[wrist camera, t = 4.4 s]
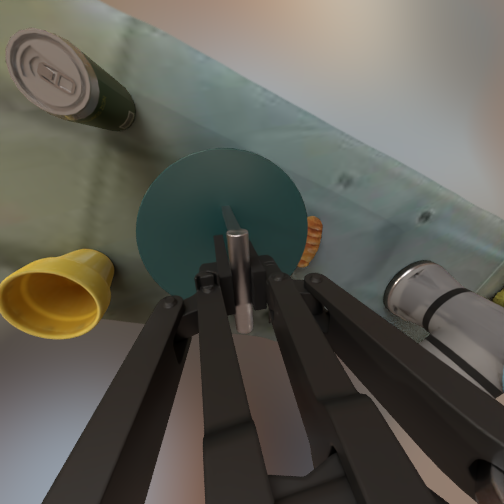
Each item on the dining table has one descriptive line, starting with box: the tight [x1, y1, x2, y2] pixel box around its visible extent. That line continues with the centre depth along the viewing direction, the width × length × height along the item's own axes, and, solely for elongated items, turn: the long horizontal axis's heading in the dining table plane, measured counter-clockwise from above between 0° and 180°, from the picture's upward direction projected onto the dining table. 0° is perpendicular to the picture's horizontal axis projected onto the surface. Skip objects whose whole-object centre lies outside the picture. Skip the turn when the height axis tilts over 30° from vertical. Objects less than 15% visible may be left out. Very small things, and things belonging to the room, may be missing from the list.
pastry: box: [297, 216, 323, 267], centre depth 38 cm, size 9×7×4 cm
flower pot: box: [0, 249, 114, 339], centre depth 29 cm, size 10×10×10 cm
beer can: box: [6, 28, 135, 131], centre depth 20 cm, size 5×5×12 cm
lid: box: [136, 148, 308, 334], centre depth 16 cm, size 15×15×9 cm
